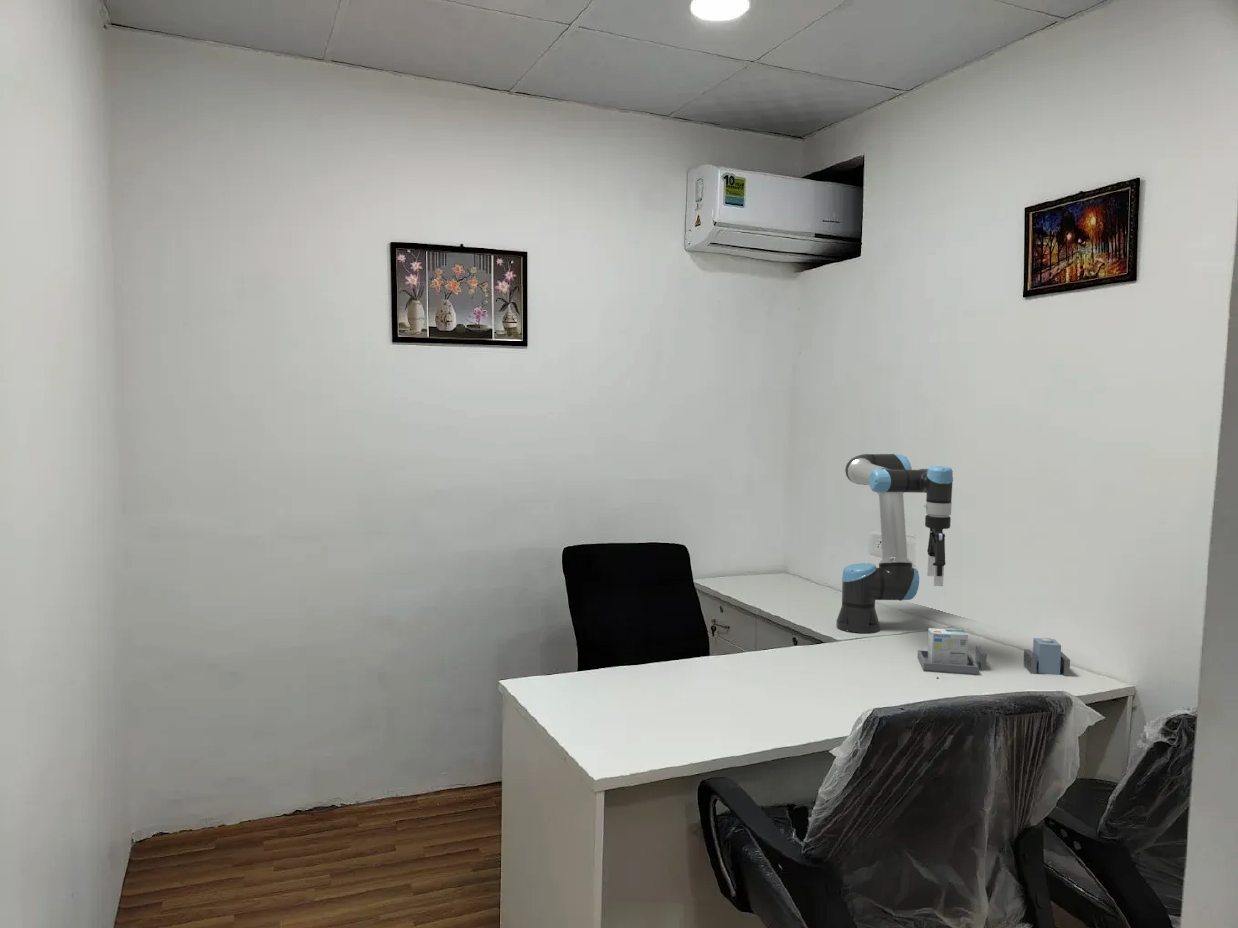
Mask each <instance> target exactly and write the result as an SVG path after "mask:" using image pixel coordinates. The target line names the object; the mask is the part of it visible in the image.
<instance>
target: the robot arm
mask: <svg viewBox="0 0 1238 928" xmlns="http://www.w3.org/2000/svg"><path fill="white" fill-rule="evenodd" d="M844 469H845V471H844V472H845V476H846V478H847V479H848V480H849V481H850V482H851V483H854V484H856V485H863V486H869V488H870V490H871V491H872V492H875V493H877V494H878V496H879V497H878V499H879V500H878V501H879V515H880V516H879V517H880V531H881V532H880V533H881V550H882V551H881V552H882V559H881V560H880V561H879V563H878V567H877V566H876V564H874V563H870V562H869V563H868V562H867V563H865V562H862V563H861V562H859V563H852V564H849V565H846V566H845V567H844V568H843V570H842V576H841V577H842V578H841V582H842V584H841V585H842V591H841V592H842V593H841V608H840V609H839V613H838V616H837V619H836V626H837V627H838V628H837V627H836V628H837V629H839V628H840V630H841V629H842V630H841V631H844V630H848V631H852V632H851V633H855V632H858V633H857V634H871V633H877V632H879V631H880V621H879V617H878V615H877V610H876V601H910V600H912V599H914V598H915V597H916V596H917V593H918V591H919V586H920V574H919V571H918V569H917V568H915V567H913V562H912V561H911V560H910V559H909V558H908V549H907V548H908V547H907V535H906V533H907V532H906V530H907V529H906V519H905V503H904V501H905V499H904V494H905V493H912V494H913V493H923V494H924V493H925V494H926V496H925V497H926V504H924V505H923V508H925V513H926V515H925V518H924V519H925V520H924V521H925V522H924V526H925V527H926V528H928V529H929V538H928V543H927V544H928V545H927V550H926V551H927V555H928V556H927V573H926V574H927V577H933V587H944V574H945V573H944V571H945V566H946V544H945V543H946V542H945V539H946V534H945V533H944V532H943V531H944V530H948V529H951V515H952V504H953V503H952V499H953V498H952V495H953V481H954V477H953V475H954V474H953V472H954V471H953V468H951V467H949V466H943V465H942V466H939V465H933V466H932V465H931V466H929V467H928V468H919V469H912V466H911V462H910V461H909V459H908V457H907V456H905V455H903V454H895V453H883V454H882V453H879V454H878V453H877V454H876V453H874V454H873V453H864V454H859V455H856V456H855V457H854V456H853V457H852V458H851V459H850V460H849V461H847V463H846V465H845V468H844ZM848 631H847V632H848Z"/></svg>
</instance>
